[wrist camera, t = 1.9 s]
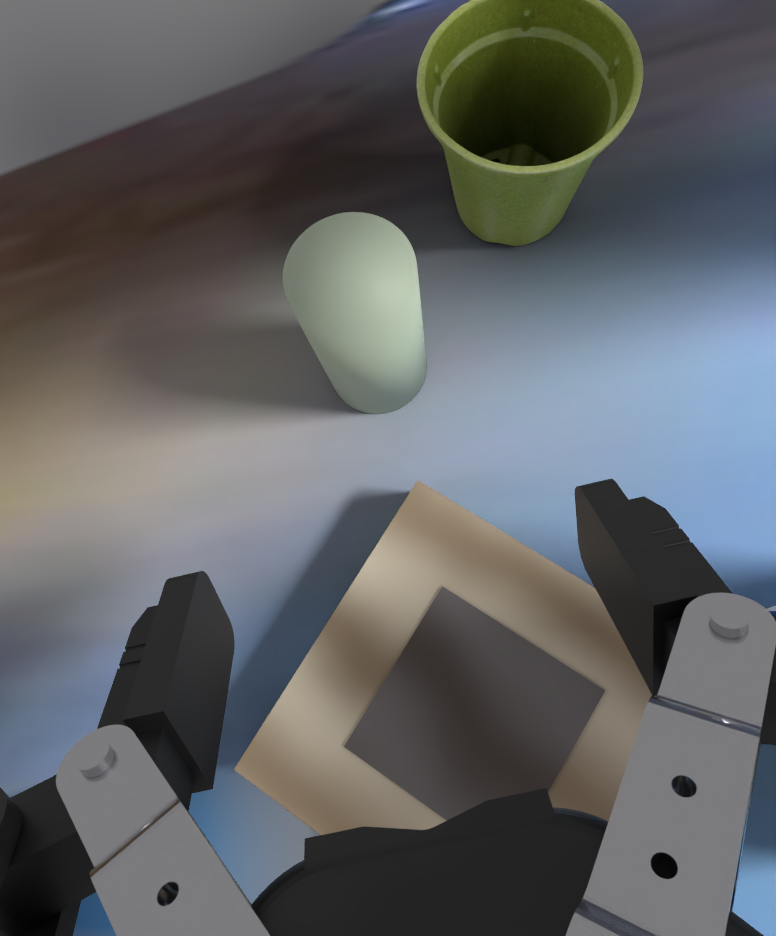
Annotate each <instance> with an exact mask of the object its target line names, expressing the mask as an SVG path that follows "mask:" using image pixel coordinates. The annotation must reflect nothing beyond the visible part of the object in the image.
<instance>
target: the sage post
mask: <svg viewBox="0 0 776 936" xmlns="http://www.w3.org/2000/svg"><path fill="white" fill-rule="evenodd" d="M283 289H284V293H285V296H286V299H287V301H288V303H289V305H290V307H291V309H292V311H293V313H294V315H295V317H296V318H297V320H298V322H299V324H300V326H301V328H302V330H303V331H304V333H305V335H306V337H307V339H308V341H309V343H310V344H311V346H312V348H313V350H314V352H315V354H316V356H317V357H318V359H319V361H320V363H321V365H322V367H323V369H324V370H325V372H326V374H327V376H328V378H329V380H330V382H331V383H332V385H333V387H334V389H335V391H336V392H337V394H338V395H339V397H340V398H341V399H342V400H343V401H344V402H345V403H346V404H348V405H349V406H350V407H352V408H354V409H356V410H358V411H361V412H364V413H369V414H384V413H389V412H392V411H395V410H398V409H400V408H402V407H403V406H405V405H406V404H408V403H409V402H410V401H411V400H412V399H413V398H414V397H415V396H416V395H417V394H418V392H419V391H420V389H421V387H422V386H423V383H424V381H425V377H426V372H427V360H426V350H425V340H424V330H423V320H422V310H421V300H420V290H419V280H418V270H417V262H416V256H415V253H414V250H413V248H412V246H411V244H410V242H409V240H408V239H407V237H406V236H405V235H404V233H403V232H402V231H401V230H400V229H399V228H398V227H396V226H395V225H394V224H392V223H391V222H389V221H388V220H386V219H384V218H381V217H379V216H376V215H373V214H369V213H363V212H345V213H340V214H335V215H332V216H329V217H326V218H324V219H322V220H320V221H318V222H316V223H315V224H313V225H311V226H310V227H309V228H308V229H306V230H305V231H304V232H303V233H302V234H301V235H300V236H299V237H298V238H297V240H296V241H295V242H294V244H293V245H292V247H291V249H290V250H289V253H288V255H287V257H286V260H285V264H284V268H283Z"/></svg>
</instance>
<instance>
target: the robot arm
mask: <svg viewBox="0 0 776 936" xmlns="http://www.w3.org/2000/svg"><path fill="white" fill-rule="evenodd" d="M575 503H576V517H577V530H578V543H579V550H580V554H581V558H582V561H583V564H584V567H585V569H586V571H587V574H588V575H589V577H590V579H591V581H592V583H593V585H594V587H595V589H596V590H597V592H598V594H599V596H600V598H601V600H602V602H603V604H604V606H605V607H606V609H607V611H608V613H609V615H610V617H611V619H612V621H613V622H614V624H615V626H616V628H617V630H618V632H619V634H620V636H621V637H622V639H623V641H624V643H625V645H626V647H627V649H628V651H629V653H630V654H631V656H632V658H633V660H634V662H635V664H636V666H637V668H638V669H639V671H640V673H641V675H642V677H643V679H644V681H645V683H646V685H647V686H648V688H649V690H650V692H651V694H652V696H651V697H650V699H649V701H648V703H647V705H646V708H645V711H644V714H643V717H642V720H641V723H640V726H639V729H638V732H637V736H636V739H635V742H634V745H633V748H632V751H631V754H630V757H629V760H628V763H627V766H626V769H625V772H624V775H623V779H622V782H621V785H620V788H619V791H618V794H617V797H616V800H615V803H614V806H613V809H612V812H611V815H610V818H609V821H607V820H604V819H602V818H600V817H598V816H595V815H592V814H589V813H585V812H582V811H578V810H573V809H567V808H558V807H552V803H551V800H550V797H549V794H548V791H547V788H544V789H539V790H534V791H530V792H525V793H520V794H515V795H511V796H506V797H501V798H496V799H492V800H487V801H485V802H483V803H481V804H479V805H477V806H475V807H473V808H471V809H469V810H467V811H465V812H463V813H461V814H459V815H457V816H455V817H453V818H451V819H449V820H447V821H445V822H443V823H441V824H439V825H437V826H435V827H433V828H430V829H426V830H414V829H398V828H382V827H366V826H363V827H358V828H353V829H348V830H344V831H339V832H334V833H329V834H325V835H320V836H315V837H310V838H306V839H305V856H304V857H305V858H304V859H305V860H303V861H302V862H300V863H298V864H296V865H294V866H293V867H292V868H290V869H289V870H287V871H286V872H284V873H283V874H281V875H280V876H279V877H278V878H277V879H276V880H274V881H273V882H272V883H271V884H270V885H269V886H268V887H267V888H266V889H265V890H264V891H263V892H262V893H261V894H260V895H259V896H258V897H257V899H256V900H255V901H254V902H253V904H251V903H250V902H249V900H248V899H247V897H246V896H245V894H244V893H243V891H242V890H241V889H240V887H239V885H238V884H237V882H236V881H235V880H234V878H233V877H232V875H231V874H230V872H229V871H228V869H227V868H226V866H225V865H224V863H223V862H222V860H221V859H220V857H219V856H218V855H217V853H216V851H215V850H214V849H213V847H212V846H211V844H210V843H209V841H208V840H207V838H206V837H205V835H204V834H203V832H202V831H201V829H200V828H199V826H198V825H197V823H196V822H195V820H194V819H193V817H192V816H191V815H190V813H189V812H188V810H189V805H190V799H191V794H192V793H196V792H200V791H205V790H210V789H213V783H214V776H215V770H216V764H217V757H218V751H219V744H220V738H221V731H222V725H223V719H224V712H225V706H226V699H227V693H228V686H229V680H230V673H231V667H232V660H233V654H234V634H233V629H232V625H231V622H230V620H229V618H228V616H227V614H226V612H225V609H224V607H223V605H222V603H221V601H220V599H219V597H218V595H217V593H216V591H215V589H214V587H213V585H212V583H211V581H210V579H209V577H208V575H207V574H206V573H205V572H204V571H200V572H195V573H191V574H187V575H182V576H178V577H173V578H169V579H168V580H167V581H166V582H165V585H164V588H163V591H162V594H161V597H160V601H159V604H158V605H157V606H153V607H148V608H147V609H146V610H145V612H144V613H143V614H142V616H141V617H140V618H139V619H138V621H137V622H136V623H135V625H134V626H133V627H132V629H131V632H130V635H129V638H128V641H127V644H126V647H125V649H126V652H123V655H122V658H121V661H120V664H119V665H120V669H118V670H117V673H116V676H115V679H114V681H113V684H112V687H111V690H110V693H109V696H108V699H107V702H106V705H105V707H104V710H103V713H102V716H101V719H100V722H99V725H98V728H97V730H95V731H93V732H91V733H89V734H88V735H86V736H85V737H83V738H82V739H81V740H80V741H78V742H77V743H76V744H75V745H74V746H73V747H72V748H71V749H70V751H69V752H68V753H67V754H66V756H65V757H64V759H63V760H62V762H61V764H60V766H59V769H58V771H57V774H56V775H55V776H53V777H51V778H49V779H47V780H45V781H43V782H41V783H39V784H37V785H35V786H33V787H31V788H29V789H27V790H25V791H23V792H21V793H19V794H17V795H15V796H13V797H11V798H10V797H9V796H8V795H7V794H6V793H5V792H4V791H3V790H2V789H1V788H0V936H73V932H74V928H75V924H76V919H77V915H78V911H79V907H80V903H81V900H82V899H84V898H86V897H88V896H89V895H91V894H93V893H95V892H97V894H98V896H99V898H100V900H101V902H102V904H103V907H104V909H105V911H106V913H107V915H108V917H109V920H110V922H111V924H112V926H113V929H114V931H115V933H116V935H117V936H763V935H762V934H761V933H760V932H758V931H757V930H756V929H754V928H753V927H752V926H750V925H749V924H748V923H746V922H745V921H744V920H743V919H741V918H740V917H739V916H737V915H736V914H735V913H733V912H732V911H733V905H734V899H735V893H736V887H737V881H738V875H739V869H740V863H741V857H742V851H743V844H744V838H745V832H746V826H747V821H748V815H749V809H750V803H751V797H752V791H753V785H754V779H755V774H756V768H757V762H758V756H759V750H760V744H772V745H776V616H772V615H771V613H770V612H769V611H768V610H767V609H766V608H765V607H763V606H762V605H760V604H759V603H757V602H755V601H754V600H752V599H749V598H747V597H744V596H741V595H737V594H733V593H732V592H731V591H730V590H729V588H728V587H727V586H726V585H725V583H724V582H723V581H722V580H721V578H720V577H719V576H718V575H717V573H716V572H715V571H714V570H713V568H712V567H711V566H710V564H709V563H708V562H707V561H706V559H705V558H704V557H703V556H702V554H701V553H700V552H699V551H698V549H697V548H696V547H695V546H694V544H693V543H690V541H689V538H688V537H687V535H686V534H685V533H684V532H683V530H682V529H679V525H678V524H677V523H676V521H675V520H674V519H673V518H672V516H671V515H670V514H669V513H668V511H667V510H666V509H665V508H663V507H662V506H660V505H658V504H656V503H654V502H653V501H651V500H649V499H647V498H646V497H644V496H643V497H639V498H635V499H630V500H628V498H627V497H626V496H625V494H624V493H623V492H622V490H621V489H620V487H619V486H618V485H617V483H616V482H615V481H614V480H613V479H608V480H604V481H599V482H595V483H591V484H586V485H582V486H577V487H576V489H575ZM654 696H656V697H654Z"/></svg>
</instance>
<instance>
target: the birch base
mask: <svg viewBox="0 0 776 936" xmlns="http://www.w3.org/2000/svg"><path fill="white" fill-rule="evenodd" d="M651 696H652V694H651V692H650V690H649V688H648V686H647V685H646V683H645V681H644V679H643V677H642V675H641V673H640V671H639V669H638V668H637V666H636V664H635V662H634V660H633V658H632V656H631V654H630V653H629V651H628V649H627V647H626V645H625V643H624V641H623V639H622V637H621V636H620V634H619V632H618V630H617V628H616V626H615V624H614V622H613V621H612V619H611V617H610V615H609V613H608V611H607V609H606V607H605V606H604V604H603V602H602V600H601V598H600V596H599V594H598V592H597V590H596V589H595V588H594V587H593V586H591V585H589V584H588V583H586V582H585V581H583V580H581V579H580V578H578V577H576V576H575V575H573V574H571V573H570V572H568V571H566V570H565V569H563V568H562V567H560V566H558V565H557V564H555V563H553V562H552V561H550V560H548V559H547V558H545V557H543V556H542V555H540V554H538V553H537V552H535V551H534V550H532V549H530V548H529V547H527V546H525V545H524V544H522V543H520V542H519V541H517V540H515V539H514V538H512V537H511V536H509V535H507V534H506V533H504V532H502V531H501V530H499V529H497V528H496V527H494V526H492V525H491V524H489V523H487V522H486V521H484V520H483V519H481V518H479V517H478V516H476V515H474V514H473V513H471V512H469V511H468V510H466V509H464V508H463V507H461V506H460V505H458V504H456V503H455V502H453V501H451V500H450V499H448V498H446V497H445V496H443V495H441V494H440V493H438V492H436V491H435V490H433V489H432V488H430V487H428V486H427V485H425V484H423V483H422V482H420V481H418V480H417V482H416V484H415V485H414V487H413V488H412V490H411V492H410V493H409V495H408V496H407V498H406V499H405V501H404V503H403V504H402V506H401V507H400V509H399V510H398V512H397V514H396V515H395V517H394V518H393V520H392V521H391V523H390V525H389V526H388V528H387V529H386V531H385V532H384V534H383V536H382V537H381V539H380V540H379V542H378V543H377V545H376V547H375V548H374V550H373V551H372V553H371V554H370V556H369V558H368V559H367V561H366V562H365V564H364V565H363V567H362V569H361V570H360V572H359V573H358V575H357V577H356V578H355V580H354V581H353V583H352V584H351V586H350V588H349V589H348V591H347V592H346V594H345V595H344V597H343V599H342V600H341V602H340V603H339V605H338V606H337V608H336V610H335V611H334V613H333V614H332V616H331V617H330V619H329V621H328V622H327V624H326V625H325V627H324V628H323V630H322V632H321V633H320V635H319V636H318V638H317V639H316V641H315V643H314V644H313V646H312V647H311V649H310V650H309V652H308V654H307V655H306V657H305V658H304V660H303V661H302V663H301V665H300V666H299V668H298V669H297V671H296V673H295V674H294V676H293V677H292V679H291V680H290V682H289V684H288V685H287V687H286V688H285V690H284V691H283V693H282V695H281V696H280V698H279V699H278V701H277V702H276V704H275V706H274V707H273V709H272V710H271V712H270V713H269V715H268V717H267V718H266V720H265V721H264V723H263V724H262V726H261V728H260V729H259V731H258V732H257V734H256V735H255V737H254V739H253V740H252V742H251V743H250V745H249V746H248V748H247V750H246V751H245V753H244V754H243V756H242V757H241V759H240V761H239V762H238V764H237V765H236V767H235V769H234V770H235V771H236V772H238V773H239V774H240V775H242V776H243V777H244V778H246V779H247V780H248V781H249V782H251V783H252V784H253V785H255V786H256V787H257V788H259V789H260V790H261V791H263V792H264V793H265V794H267V795H268V796H269V797H271V798H272V799H273V800H275V801H276V802H277V803H278V804H280V805H281V806H282V807H284V808H285V809H286V810H288V811H289V812H290V813H292V814H293V815H294V816H296V817H297V818H298V819H300V820H301V821H302V822H304V823H305V824H306V825H307V826H309V827H310V828H311V829H313V830H314V831H315V832H317V833H318V834H319V835H325V834H329V833H334V832H339V831H344V830H348V829H353V828H358V827H363V826H366V827H382V828H398V829H414V830H426V829H430V828H433V827H435V826H437V825H439V824H441V823H443V822H445V821H447V820H449V819H451V818H453V817H455V816H457V815H459V814H461V813H463V812H465V811H467V810H469V809H471V808H473V807H475V806H477V805H479V804H481V803H483V802H485V801H487V800H492V799H496V798H501V797H506V796H511V795H515V794H520V793H525V792H530V791H534V790H539V789H544V788H547V791H548V794H549V797H550V800H551V803H552V807H558V808H567V809H573V810H578V811H582V812H585V813H589V814H592V815H595V816H598V817H600V818H602V819H604V820H607V821H609V818H610V815H611V812H612V809H613V806H614V803H615V800H616V797H617V794H618V791H619V788H620V785H621V782H622V779H623V775H624V772H625V769H626V766H627V763H628V760H629V757H630V754H631V751H632V748H633V745H634V742H635V739H636V736H637V732H638V729H639V726H640V723H641V720H642V717H643V714H644V711H645V708H646V705H647V703H648V701H649V699H650V697H651ZM654 697H656V696H654Z"/></svg>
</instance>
